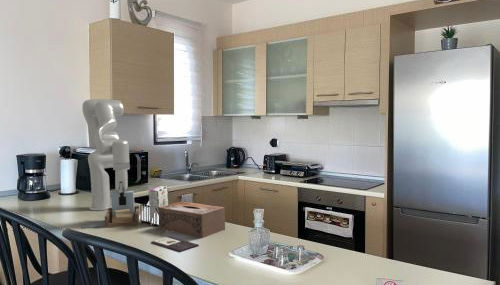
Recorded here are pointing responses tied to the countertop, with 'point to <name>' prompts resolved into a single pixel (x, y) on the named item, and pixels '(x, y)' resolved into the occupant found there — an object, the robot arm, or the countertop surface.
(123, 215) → the offcut upper
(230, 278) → the countertop surface
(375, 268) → the countertop surface
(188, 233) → the tissue box cover
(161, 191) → the candy bar box
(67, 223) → the countertop surface
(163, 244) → the chocolate bar
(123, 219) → the offcut lower
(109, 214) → the rack
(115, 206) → the panel
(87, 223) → the mat
